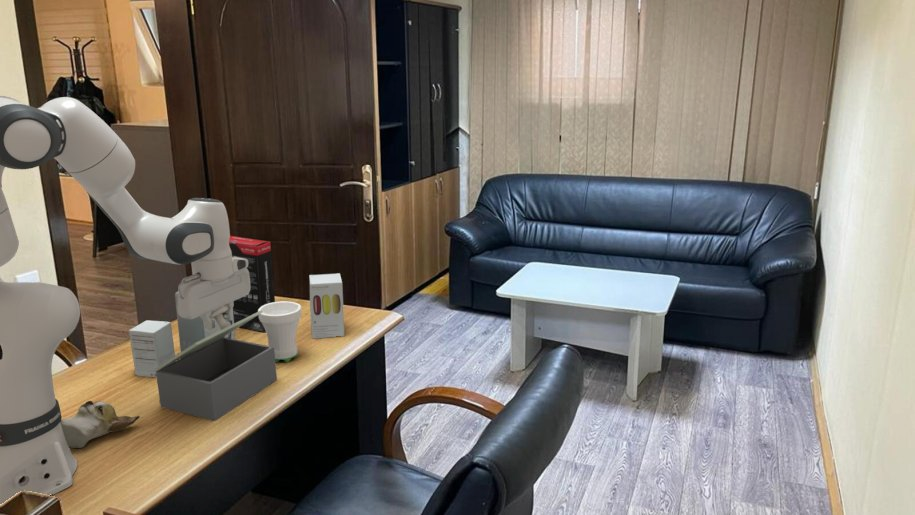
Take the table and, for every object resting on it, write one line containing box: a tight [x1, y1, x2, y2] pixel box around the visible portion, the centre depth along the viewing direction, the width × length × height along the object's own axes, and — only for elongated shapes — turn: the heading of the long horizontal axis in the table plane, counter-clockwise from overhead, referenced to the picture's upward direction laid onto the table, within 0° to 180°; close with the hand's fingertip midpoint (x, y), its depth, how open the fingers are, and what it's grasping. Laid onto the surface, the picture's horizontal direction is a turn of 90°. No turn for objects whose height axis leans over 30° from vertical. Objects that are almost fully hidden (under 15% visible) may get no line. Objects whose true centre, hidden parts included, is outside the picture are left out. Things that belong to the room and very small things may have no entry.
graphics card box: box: [229, 235, 276, 333], centre depth 202 cm, size 17×7×27 cm, turn 65°
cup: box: [258, 300, 302, 363], centre depth 181 cm, size 11×11×14 cm
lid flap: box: [155, 306, 262, 371], centre depth 160 cm, size 22×17×5 cm
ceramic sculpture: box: [61, 400, 140, 449], centre depth 143 cm, size 11×9×15 cm
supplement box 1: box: [128, 319, 176, 379], centre depth 173 cm, size 7×7×13 cm
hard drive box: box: [174, 291, 236, 359], centre depth 183 cm, size 16×8×20 cm, turn 168°
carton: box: [156, 337, 278, 422], centre depth 162 cm, size 22×16×9 cm
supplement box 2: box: [308, 272, 345, 340], centre depth 198 cm, size 10×9×17 cm
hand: (218, 324), depth 158 cm, fingers closed on lid flap, 4 cm apart
